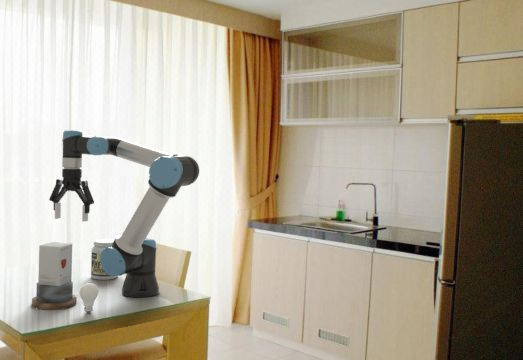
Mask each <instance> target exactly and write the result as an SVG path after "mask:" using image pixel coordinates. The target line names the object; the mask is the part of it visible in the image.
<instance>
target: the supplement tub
mask: <svg viewBox="0 0 523 360" xmlns="http://www.w3.org/2000/svg"><path fill="white" fill-rule="evenodd" d="M114 240H115V239H113V238H100V239H95V240H93V246H92V248H91V259H90V260H91V261H90V263H91V264H90V277H91V278H92V279H93V280H94V279H95V280H98V281H99V280H100V281H108V280H114V279H116V278H118V276H110V275H108V274H107V273H106V272H105V271H104V270H103V268H102V266H101V262H100V255H101V252H102V251H103V250H104V249H105V248H107V247H110V246H111V245H112V243H113V242H114Z"/></svg>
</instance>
